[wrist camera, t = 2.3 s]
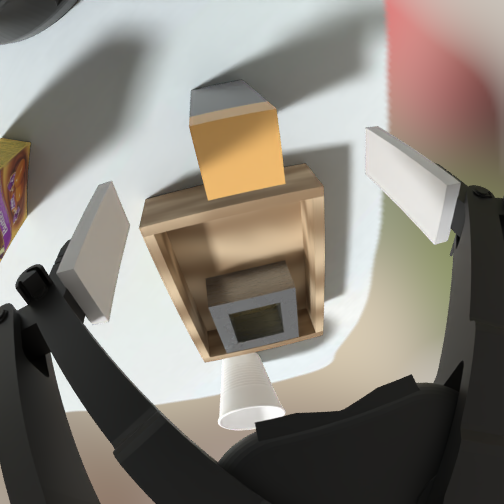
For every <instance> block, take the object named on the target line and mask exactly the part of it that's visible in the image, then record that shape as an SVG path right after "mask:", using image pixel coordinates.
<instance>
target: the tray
mask: <svg viewBox="0 0 504 504" xmlns="http://www.w3.org/2000/svg"><path fill="white" fill-rule="evenodd" d="M284 175H285V184H282V185H277V186H272V187H267V188H263V189H258V190H253V191H249V192H244V193H239V194H235V195H231V196H226V197H222V198H217V199H213V200H209V201H208V198H207V195H206V191H205V187H204V185H200V186H195V187H191V188H187V189H183V190H179V191H176V192H172V193H168V194H164V195H160V196H157V197H153V198H149V199H146V200H145V204H144V208H143V212H142V217H141V222H140V226H139V229H140V231H141V234H142V236H143V238H144V241H145V243H146V245H147V248H148V250H149V252H150V254H151V256H152V259H153V261H154V263H155V265H156V267H157V270H158V272H159V274H160V276H161V278H162V280H163V282H164V284H165V287H166V289H167V291H168V293H169V295H170V297H171V299H172V301H173V303H174V305H175V307H176V309H177V311H178V313H179V315H180V317H181V319H182V321H183V323H184V325H185V327H186V329H187V330H188V332H189V334H190V336H191V338H192V340H193V342H194V344H195V346H196V347H197V349H198V351H199V353H200V355H201V357H202V358H203V360H204V362H210V361H215V360H220V359H225V358H230V357H235V356H240V355H244V354H249V353H254V352H258V351H262V350H267V349H271V348H275V347H279V346H283V345H287V344H291V343H295V342H299V341H303V340H306V339H310V338H314V337H318V336H321V335H323V318H324V282H325V218H324V186H323V185H322V183H321V182H320V181H319V180H318V178H317V177H316V176H315V175H314V173H313V172H312V171H311V170H310V168H309V167H308V166H307V165H306V163H304V164H299V165H293V166H288V167H284ZM283 260H285V262H286V264H287V267H288V269H289V272H290V275H291V277H292V280H293V282H294V285H295V289H296V302H297V316H298V332H299V337H296V338H292V339H288V340H284V341H280V342H276V343H272V344H267V345H263V346H259V347H254V348H250V349H245V350H241V351H236V352H231V353H227V352H226V350H225V348H224V345H223V343H222V340H221V338H220V335H219V333H218V331H217V328H216V326H215V323H214V321H213V318H212V316H211V313H210V311H209V308H208V300H207V290H206V279H205V278H209V277H214V276H218V275H223V274H227V273H232V272H236V271H240V270H245V269H249V268H253V267H258V266H262V265H266V264H271V263H275V262H279V261H283Z"/></svg>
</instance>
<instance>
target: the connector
mask: <svg viewBox="0 0 504 504" xmlns="http://www.w3.org/2000/svg"><path fill="white" fill-rule="evenodd" d="M189 128H190V132H191V136H192V140H193V144H194V148H195V152H196V156H197V160H198V164H199V168H200V172H201V175H202V179H203V183H204V187H205V191H206V195H207V198H208V201H209V200H213V199H217V198H222V197H226V196H231V195H235V194H239V193H244V192H249V191H253V190H258V189H263V188H267V187H272V186H277V185H282V184H285V175H284V166H283V158H282V149H281V141H280V133H279V125H278V118H277V110H276V108H275V107H274V106H273V105H271V104H270V103H269V102H268V101H267V100H266V99H265V98H263V97H262V96H261V95H260V94H259V93H258V92H256V91H255V90H254V89H253V88H252V87H250V86H249V85H248V84H247V83H246V82H244V81H243V80H238V81H233V82H227V83H222V84H217V85H213V86H208V87H203V88H199V89H195V90H191V100H190V119H189Z"/></svg>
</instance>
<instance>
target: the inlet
mask: <svg viewBox="0 0 504 504" xmlns="http://www.w3.org/2000/svg"><path fill="white" fill-rule="evenodd" d="M205 279H206V290H207V300H208V308H209V311H210V313H211V316H212V318H213V321H214V323H215V326H216V328H217V331H218V333H219V335H220V338H221V340H222V343H223V345H224V348H225V350H226V352H227V353H231V352H236V351H241V350H245V349H250V348H254V347H259V346H263V345H267V344H272V343H276V342H280V341H284V340H288V339H292V338H296V337H299V332H298V316H297V302H296V289H295V285H294V282H293V280H292V277H291V275H290V272H289V269H288V267H287V264H286V262H285V260H283V261H279V262H275V263H271V264H266V265H262V266H258V267H253V268H249V269H245V270H240V271H236V272H232V273H227V274H223V275H218V276H214V277H209V278H205Z"/></svg>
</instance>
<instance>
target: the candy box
mask: <svg viewBox="0 0 504 504" xmlns="http://www.w3.org/2000/svg"><path fill="white" fill-rule="evenodd" d="M30 146H31V142H23V141H18V140H12V139H6V138H0V261H1V260H2V258H3V256H4V254H5V253H6V251H7V249H8V247H9V245H10V244H11V242H12V240H13V239H14V237H15V235H16V234H17V232H18V230H19V229H20V227H21V226H22V224H23V222H24V221H25V219H26V218H27V181H28V166H29V154H30Z"/></svg>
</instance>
